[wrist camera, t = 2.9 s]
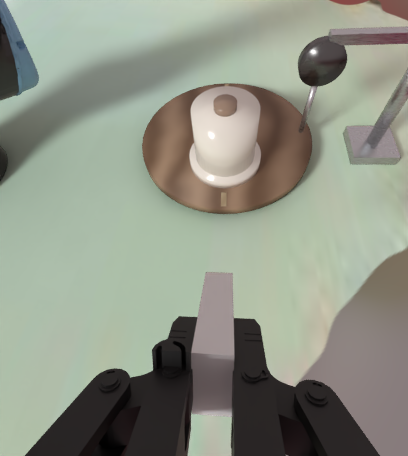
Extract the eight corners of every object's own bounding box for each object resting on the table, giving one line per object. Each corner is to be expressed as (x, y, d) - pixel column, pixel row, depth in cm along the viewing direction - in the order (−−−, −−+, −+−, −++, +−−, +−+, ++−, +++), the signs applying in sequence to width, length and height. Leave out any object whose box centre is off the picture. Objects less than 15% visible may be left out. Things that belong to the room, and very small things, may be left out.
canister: (187, 188, 44) (177, 133, 34) (192, 135, 49) (185, 75, 39) (261, 188, 43) (272, 133, 33) (258, 135, 48) (267, 73, 38)
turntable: (131, 212, 44) (128, 206, 42) (156, 92, 57) (154, 84, 56) (320, 215, 42) (323, 209, 40) (300, 89, 55) (302, 81, 54)
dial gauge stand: (280, 164, 48) (312, 41, 31) (277, 133, 51) (304, 7, 34) (395, 164, 47) (496, 35, 29) (385, 133, 50) (469, 0, 33)
